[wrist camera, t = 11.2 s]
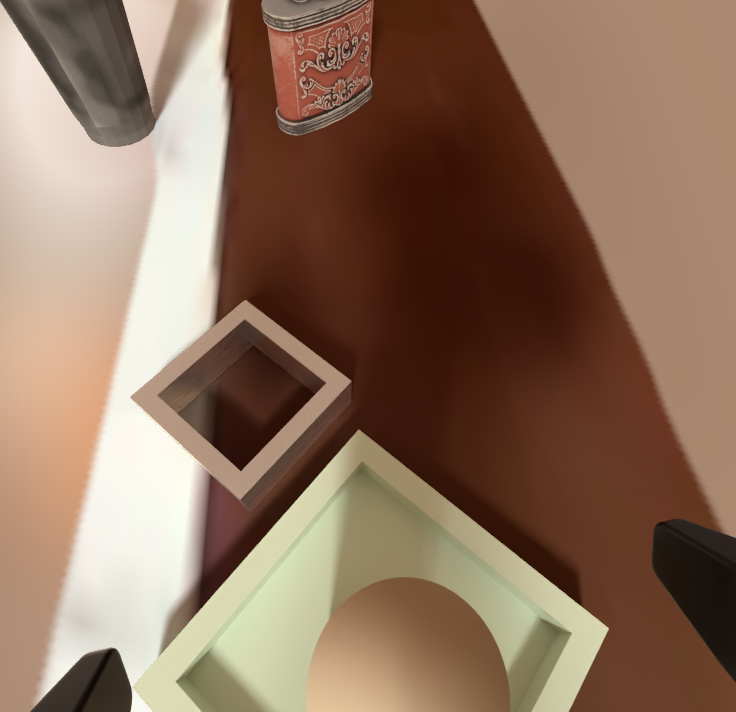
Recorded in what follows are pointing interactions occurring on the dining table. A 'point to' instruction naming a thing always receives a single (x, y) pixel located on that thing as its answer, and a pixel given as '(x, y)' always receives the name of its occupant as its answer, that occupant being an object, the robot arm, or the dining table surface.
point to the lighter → (319, 60)
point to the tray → (349, 575)
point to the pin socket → (214, 358)
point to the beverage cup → (89, 64)
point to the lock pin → (406, 654)
